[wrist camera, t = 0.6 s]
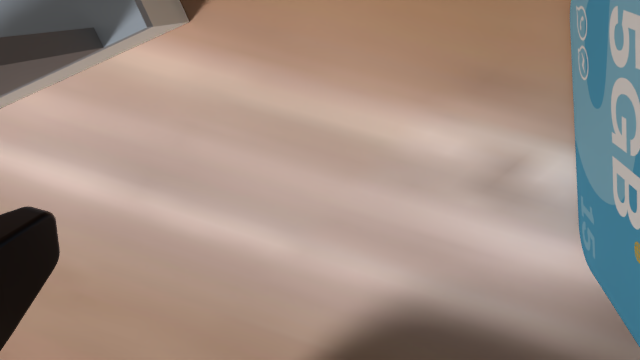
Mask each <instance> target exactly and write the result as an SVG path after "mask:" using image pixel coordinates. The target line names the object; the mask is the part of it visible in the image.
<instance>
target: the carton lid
mask: <svg viewBox="0 0 640 360" xmlns="http://www.w3.org/2000/svg"><path fill="white" fill-rule="evenodd" d="M151 27H153V25H152V23H151V21H150V19H149V16H148V14H147V12H146V10H145V8H144V6H143V4H142V2H141V0H0V98H1V97H3V96H5V95H7V94H10V93H12V92H14V91H16V90H18V89H20V88H22V87H25V86H27V85H29V84H31V83H33V82H35V81H37V80H40V79H42V78H44V77H46V76H48V75H50V74H53V73H55V72H57V71H59V70H61V69H63V68H65V67H68V66H70V65H72V64H74V63H76V62H78V61H80V60H83V59H85V58H87V57H89V56H91V55H93V54H96V53H98V52H100V51H102V50H104V49H106V48H108V47H111V46H113V45H115V44H117V43H119V42H121V41H123V40H126V39H128V38H130V37H132V36H134V35H136V34H139V33H141V32H143V31H145V30H147V29H149V28H151Z"/></svg>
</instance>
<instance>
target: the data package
mask: <svg viewBox="0 0 640 360" xmlns="http://www.w3.org/2000/svg"><path fill="white" fill-rule="evenodd" d="M570 31H571V54H572V77H573V100H574V123H575V146H576V169H577V192H578V215H579V231H580V238H581V244H582V248H583V252H584V256H585V259H586V262H587V264H588V266H589V268H590V270H591V272H592V273H593V275H594V276H595V278H596V279H597V281H598V283H599V284H600V286H601V287H602V289H603V290H604V292H605V294H606V295H607V297H608V298H609V300H610V301H611V303H612V305H613V306H614V308H615V309H616V311H617V312H618V314H619V316H620V317H621V319H622V320H623V322H624V323H625V325H626V327H627V328H628V330H629V331H630V333H631V334H632V336H633V338H634V339H635V341H636V342H637V344H638V345H639V347H640V0H571V6H570Z"/></svg>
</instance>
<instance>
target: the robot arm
mask: <svg viewBox="0 0 640 360" xmlns="http://www.w3.org/2000/svg"><path fill="white" fill-rule="evenodd" d="M59 253H60V251H59V242H58V234H57V226H56V220H55V217H54V215H53V214H52V213H50V212H48V211H45V210H41V209H37V208H34V207H23V208H19V209H16V210H13V211H10V212H7V213H4V214H1V215H0V350H1V349H2V348H3V346H4V345H5V344H6V342H7V341H8V339H9V338H10V336H11V335H12V333H13V332H14V330H15V329H16V327H17V326H18V324H19V322H20V321H21V319H22V318H23V316H24V315H25V313H26V312H27V310H28V308H29V307H30V305H31V304H32V302H33V301H34V299H35V298H36V296H37V294H38V293H39V291H40V290H41V288H42V287H43V285H44V284H45V282H46V280H47V279H48V277H49V276H50V274H51V273H52V271H53V270H54V268H55V266H56V264H57V262H58V259H59Z"/></svg>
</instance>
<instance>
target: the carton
mask: <svg viewBox="0 0 640 360" xmlns="http://www.w3.org/2000/svg"><path fill="white" fill-rule="evenodd" d="M141 2H142V4H143V6H144V8H145V10H146V12H147V14H148V16H149V19H150V21H151V23H152V25H153V27H151V28H149V29H147V30H145V31H143V32H141V33H139V34H136V35H134V36H132V37H130V38H128V39H126V40H123V41H121V42H119V43H117V44H115V45H113V46H111V47H108V48H106V49H104V50H102V51H100V52H98V53H96V54H93V55H91V56H89V57H87V58H85V59H83V60H80V61H78V62H76V63H74V64H72V65H70V66H68V67H65V68H63V69H61V70H59V71H57V72H55V73H53V74H50V75H48V76H46V77H44V78H42V79H40V80H37V81H35V82H33V83H31V84H29V85H27V86H25V87H22V88H20V89H18V90H16V91H14V92H12V93H10V94H7V95H5V96H3V97H1V98H0V109H1V108H3V107H5V106H7V105H9V104H12V103H14V102H16V101H18V100H20V99H22V98H25V97H27V96H29V95H31V94H33V93H36V92H38V91H40V90H42V89H44V88H46V87H49V86H51V85H53V84H55V83H57V82H60V81H62V80H64V79H66V78H68V77H70V76H73V75H75V74H77V73H79V72H81V71H84V70H86V69H88V68H90V67H92V66H95V65H97V64H99V63H101V62H103V61H105V60H108V59H110V58H112V57H114V56H116V55H119V54H121V53H123V52H125V51H127V50H129V49H132V48H134V47H136V46H138V45H140V44H143V43H145V42H147V41H149V40H151V39H153V38H156V37H158V36H160V35H162V34H164V33H167V32H169V31H171V30H173V29H175V28H177V27H180V26H182V25H184V24H186V23H188V22H189V20H188V18H187V16H186V13H185V11H184V9H183V7H182V4H181V2H180V0H141Z"/></svg>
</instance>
